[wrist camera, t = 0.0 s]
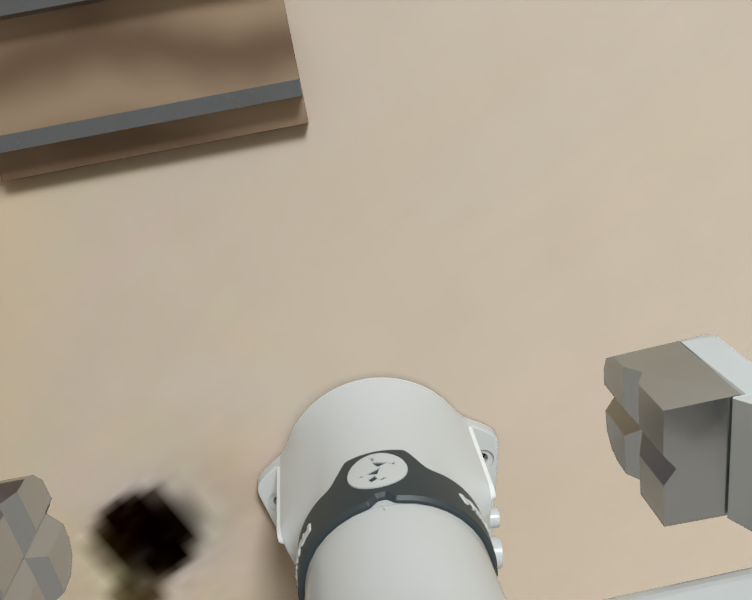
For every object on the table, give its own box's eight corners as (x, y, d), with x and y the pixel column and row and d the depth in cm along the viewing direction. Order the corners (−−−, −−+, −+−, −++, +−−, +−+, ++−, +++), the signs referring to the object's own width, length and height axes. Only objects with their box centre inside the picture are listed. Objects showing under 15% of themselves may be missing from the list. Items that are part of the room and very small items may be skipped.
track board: (308, 122, 46) (308, 124, 44) (8, 179, 45) (-8, 184, 43) (267, -77, 42) (264, -87, 40) (-59, -17, 42) (-81, -24, 39)
